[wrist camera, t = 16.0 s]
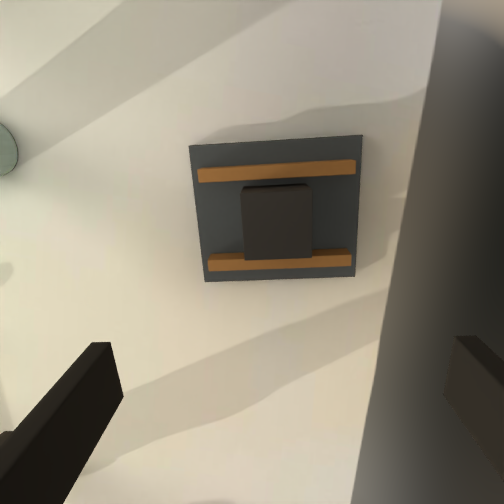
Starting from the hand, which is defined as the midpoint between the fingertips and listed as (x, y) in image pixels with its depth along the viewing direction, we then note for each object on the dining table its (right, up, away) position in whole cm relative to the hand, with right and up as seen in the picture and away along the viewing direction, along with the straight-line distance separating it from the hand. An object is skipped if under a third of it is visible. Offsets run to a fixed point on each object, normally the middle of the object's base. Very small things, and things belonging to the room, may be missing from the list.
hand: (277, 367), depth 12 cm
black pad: (+1, +8, +19) cm, 20 cm away
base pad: (+2, +9, +20) cm, 21 cm away
